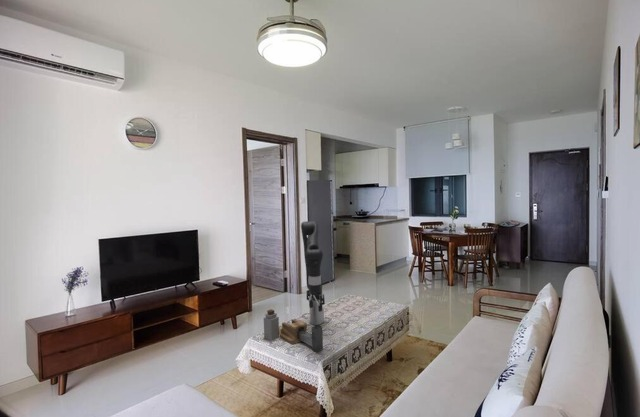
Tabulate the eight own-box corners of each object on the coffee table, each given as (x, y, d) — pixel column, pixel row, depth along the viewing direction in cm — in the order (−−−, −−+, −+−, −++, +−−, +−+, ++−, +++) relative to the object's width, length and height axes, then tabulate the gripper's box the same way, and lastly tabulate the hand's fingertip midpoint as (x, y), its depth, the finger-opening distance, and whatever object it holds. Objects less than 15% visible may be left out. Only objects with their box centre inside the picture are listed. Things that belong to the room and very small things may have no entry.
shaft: (295, 334, 230) (294, 314, 229) (323, 349, 208) (322, 326, 208) (289, 336, 227) (288, 316, 226) (316, 351, 205) (315, 329, 204)
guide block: (297, 331, 236) (296, 316, 236) (309, 337, 226) (309, 322, 225) (279, 337, 228) (279, 321, 227) (291, 344, 217) (291, 328, 216)
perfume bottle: (272, 334, 232) (271, 307, 231) (279, 337, 228) (278, 310, 227) (264, 338, 227) (263, 310, 226) (271, 341, 223) (270, 313, 222)
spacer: (291, 332, 236) (289, 330, 239) (291, 326, 235) (288, 324, 239) (280, 335, 232) (278, 333, 235) (280, 329, 231) (278, 327, 235)
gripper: (327, 284, 206) (328, 310, 207) (312, 279, 217) (313, 304, 218) (317, 286, 201) (318, 314, 202) (302, 281, 212) (303, 307, 213)
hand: (315, 309), depth 210 cm, fingers open, 8 cm apart
